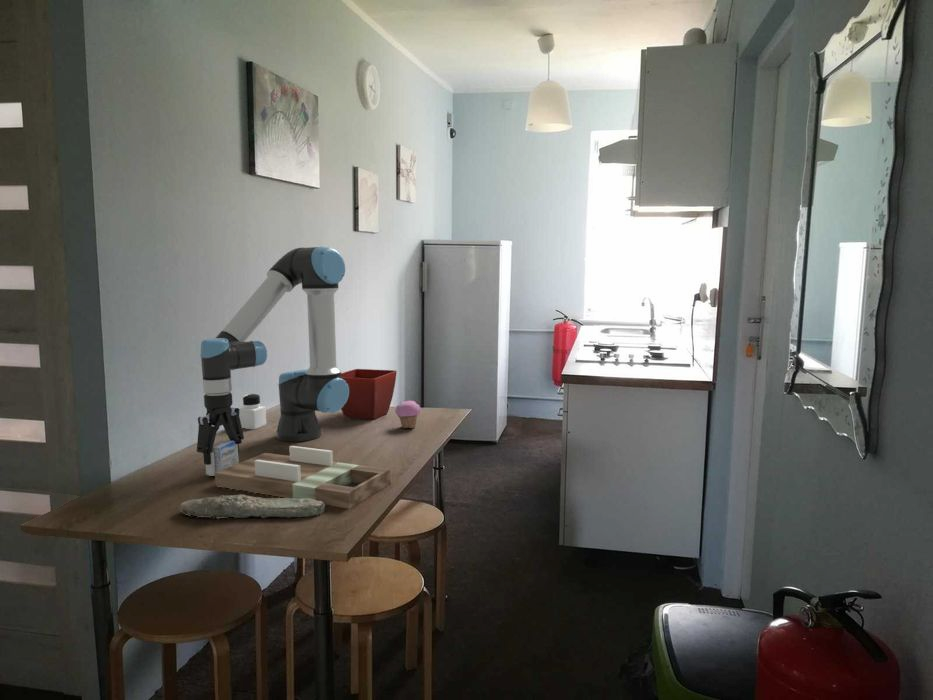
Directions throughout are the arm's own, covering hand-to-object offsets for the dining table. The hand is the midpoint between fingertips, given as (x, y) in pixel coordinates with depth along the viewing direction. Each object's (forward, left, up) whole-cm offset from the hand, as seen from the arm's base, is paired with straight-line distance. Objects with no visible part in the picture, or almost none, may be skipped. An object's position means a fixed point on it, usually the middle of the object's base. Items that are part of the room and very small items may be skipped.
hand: (222, 469), depth 192 cm
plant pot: (-76, 0, -1) cm, 76 cm away
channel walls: (0, +26, +3) cm, 26 cm away
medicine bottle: (-46, -30, -1) cm, 55 cm away
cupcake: (-65, +25, -1) cm, 70 cm away
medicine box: (0, 0, -1) cm, 1 cm away
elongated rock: (+21, +30, -2) cm, 36 cm away
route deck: (0, +29, -1) cm, 29 cm away
